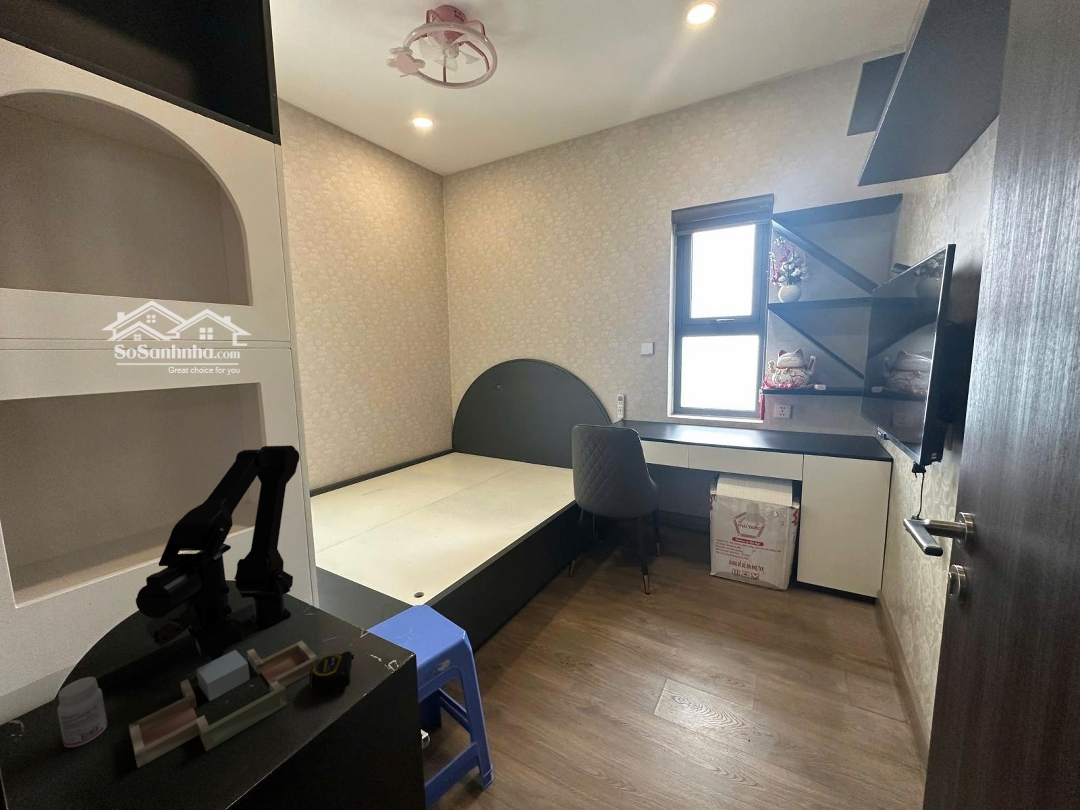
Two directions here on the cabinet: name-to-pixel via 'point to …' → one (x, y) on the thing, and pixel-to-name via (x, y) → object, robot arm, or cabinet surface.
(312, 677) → the tape measure
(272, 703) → the box
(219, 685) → the block
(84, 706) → the pill bottle
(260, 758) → the cabinet surface
